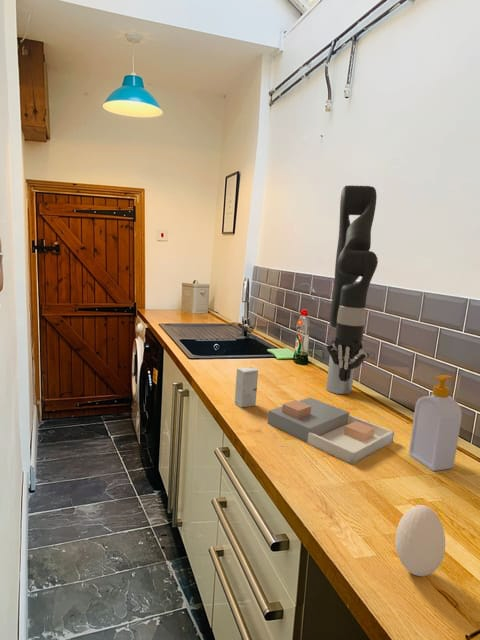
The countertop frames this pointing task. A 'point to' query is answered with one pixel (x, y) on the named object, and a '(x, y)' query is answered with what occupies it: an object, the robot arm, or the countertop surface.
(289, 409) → the tile
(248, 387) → the skincare box
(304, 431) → the board
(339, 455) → the tray
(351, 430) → the tile
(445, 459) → the soap bottle
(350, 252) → the robot arm
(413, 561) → the egg
